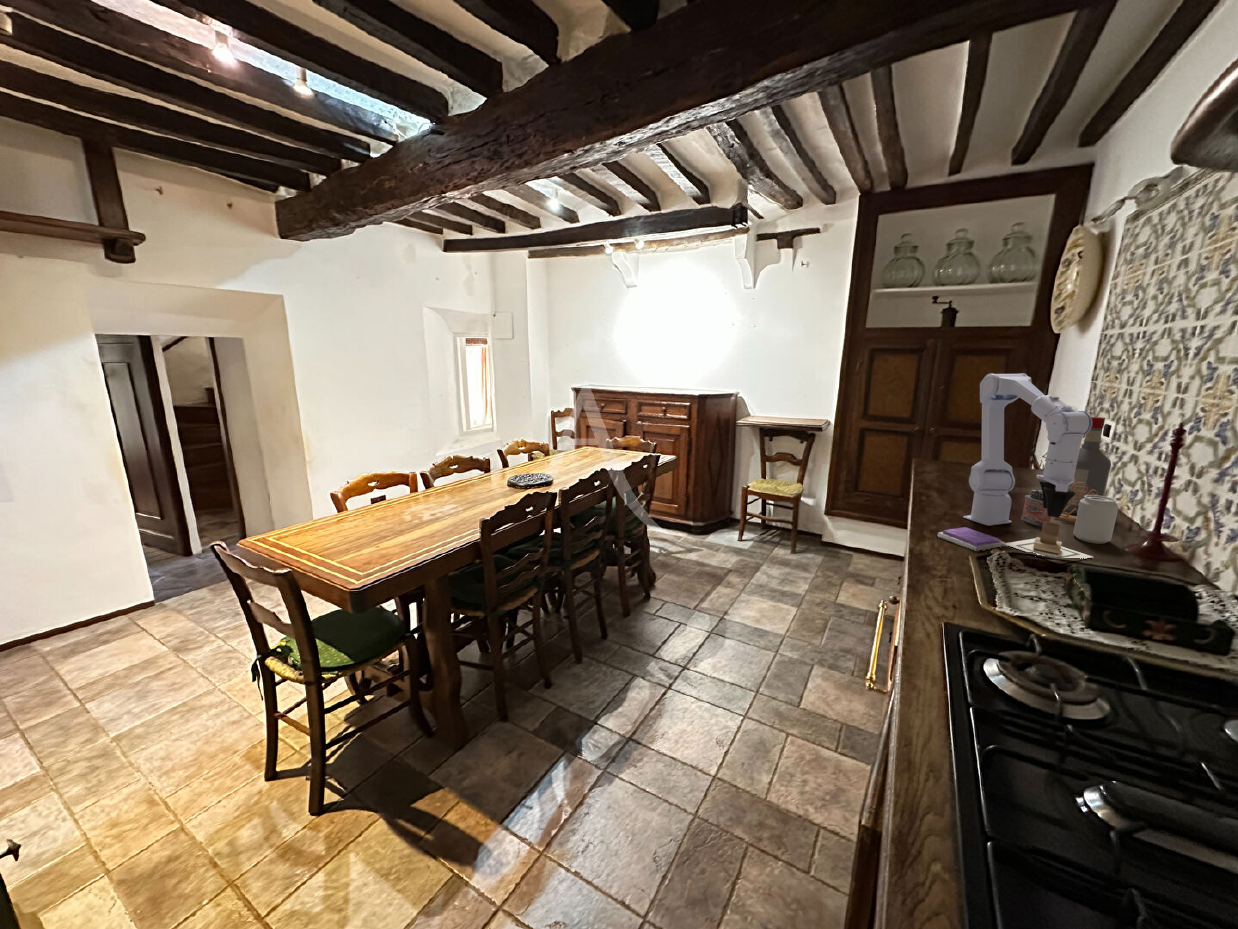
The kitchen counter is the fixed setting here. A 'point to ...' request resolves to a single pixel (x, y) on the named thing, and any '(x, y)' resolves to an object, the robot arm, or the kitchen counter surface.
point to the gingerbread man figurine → (1068, 516)
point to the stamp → (1048, 539)
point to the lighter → (1035, 509)
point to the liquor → (1091, 465)
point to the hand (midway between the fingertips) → (1051, 512)
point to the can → (1096, 519)
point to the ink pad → (970, 539)
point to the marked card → (1028, 547)
